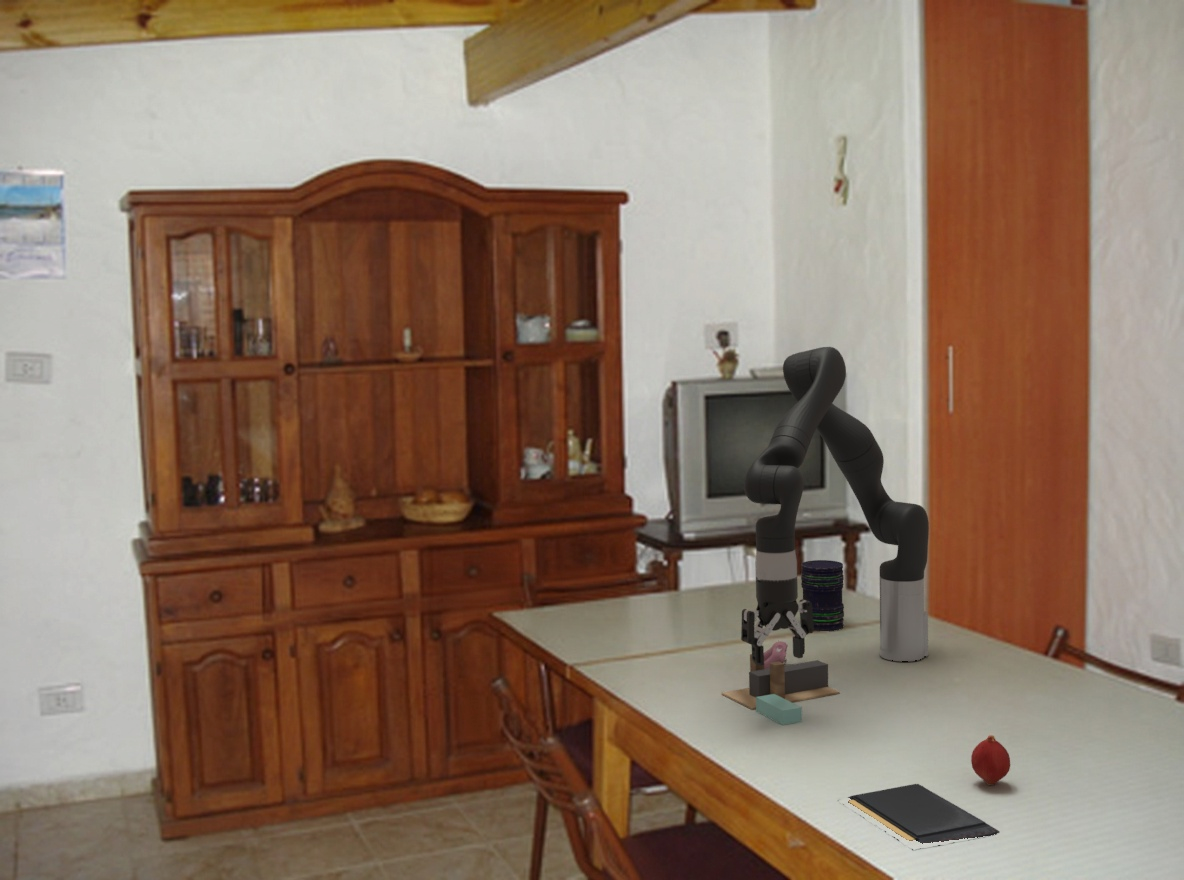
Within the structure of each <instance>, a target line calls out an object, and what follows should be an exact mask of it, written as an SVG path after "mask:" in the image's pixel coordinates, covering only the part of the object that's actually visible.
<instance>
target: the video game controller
mask: <svg viewBox="0 0 1184 880" xmlns="http://www.w3.org/2000/svg"><path fill="white" fill-rule="evenodd" d="M788 646H789V645H788V644H787V643H786V642H785V641H779V640H777V641H776V642H774V643H773V645H772V646H771V647H770V648H769V649H767V650H765V651H764V669H769V668H770V663H773V662H781V663H783V664H784V665H785V664H786V663H787V662H788V658H786V657H787V650H788Z"/></svg>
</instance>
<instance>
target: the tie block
mask: <svg viewBox="0 0 1184 880" xmlns="http://www.w3.org/2000/svg"><path fill="white" fill-rule="evenodd" d="M755 712H756V713H759V714H760V715H762V716H765V717H766V718H768V719H771V720H772V721H774V722H776V723H778V724H780V725H781V726H787V725H791V724H798V723H802V722H803V718H802V716H803V714H802V712H803V711H802V706H800V705H798V704H796V703H795V702H790V701H788V700H786V699H784V698H782V697H780V696H778V695H775V694H771V695H765V696H759V697H756V709H755Z"/></svg>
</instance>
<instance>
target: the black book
mask: <svg viewBox="0 0 1184 880" xmlns="http://www.w3.org/2000/svg"><path fill="white" fill-rule="evenodd" d="M847 798H850V799H851V800H849V801H848V803H850V804H852V805H853V806H855V807H857V808H858V809H860V810H861V811H863V812H864V813H866V814H868V815H869V816H871V817H873V818H874V819H876V820H877V821H879V822H880V823H882V824H883V825H885V826H886V827H887V828H889V829H891V830H892V831H894V832H895V833H896V834H898V835H900V836H901V837H903V838H905V839H906V840H909V841H913V840H916V841H918V842H920V843H922V844H923V843H931V842H932V843H933V842H939V841H941V842H944V841H949V840H959V839H963V838H964V839H965V838H967V839H968V838H975V837H977V838H978V837H983V836H988V837H991V835H992V836H995V835H998V834H1000V830H998V829H997V828H995V827H993V826H991V825H990V824H988V822H986V821H983V820H982V819H981V818H979V817H977V816H975V815H973V814H972V813H970V812H968V811H967V810H965V809H963V808H962V807H959V806H958V805H956V804H954V803H952V802H951V801H948V799H946V798H944V797H942V796H940V795H938V794H937V793H935V792H933V791H931V790H930V789H928V788H926V787H924V786H923V785H921V784H919V783H913V784H908V785H907V784H906V785H902V786H901V785H900V786H897V787H892V788H886V789H881V790H875V791H871V792H869V791H868V792H864V793H860V794H853V795H850V796H848V797H847ZM997 833H998V834H997ZM994 834H995V835H994ZM983 838H984V837H983ZM978 839H979V838H978Z"/></svg>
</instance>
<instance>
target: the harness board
mask: <svg viewBox="0 0 1184 880" xmlns="http://www.w3.org/2000/svg"><path fill="white" fill-rule="evenodd" d="M784 666H785V664H784V663H781V662H773V663H770V695H771V694H775V695H778V696H780V697H782V698H784V699H786V700H788V701H790V702H792V703H798V702H801V701H807V700H812V699H818V698H824V697H828V696H833V695H839V694H841V691H839V690H837V689H835V688H832V687H830V686H828V687H824V688H818V689H813V690H807V691H802V692H796V693H791V694H785V667H784ZM763 669H764V665H762V666H758V665H756V664H755V663H754V662H753V660H752V653H751V654H749V672H751V671H757V670H763ZM721 696H724V697H726V698H727V697H728V698H727V699H730V700H731V701H734V702H736V703H737V704H740V705H741V706H743V707H745V708H748V709H750V710H751V711H754V710H755V711H756V697H754V696H751V695H749V687H747V688H741V689H735V690H729V691H724V692H721Z"/></svg>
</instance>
